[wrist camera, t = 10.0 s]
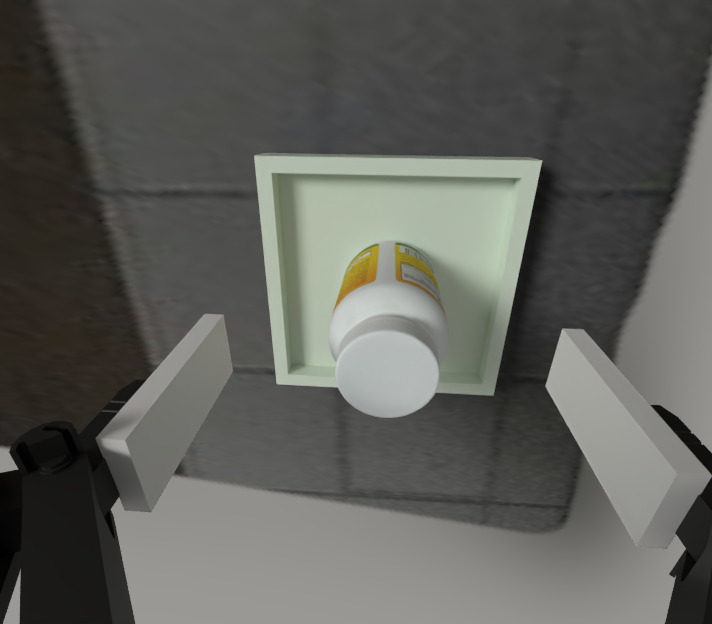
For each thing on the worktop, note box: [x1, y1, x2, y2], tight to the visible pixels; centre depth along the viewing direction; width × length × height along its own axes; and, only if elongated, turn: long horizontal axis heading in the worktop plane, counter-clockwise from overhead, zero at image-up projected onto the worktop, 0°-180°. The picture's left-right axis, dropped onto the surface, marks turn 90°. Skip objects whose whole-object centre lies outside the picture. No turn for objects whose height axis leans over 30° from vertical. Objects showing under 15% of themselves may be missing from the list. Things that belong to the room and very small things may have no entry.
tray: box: [254, 153, 542, 396], centre depth 23 cm, size 14×14×2 cm
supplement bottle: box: [328, 240, 449, 418], centre depth 19 cm, size 5×5×10 cm
